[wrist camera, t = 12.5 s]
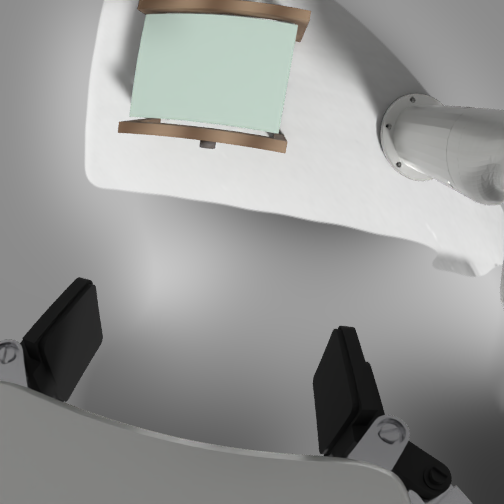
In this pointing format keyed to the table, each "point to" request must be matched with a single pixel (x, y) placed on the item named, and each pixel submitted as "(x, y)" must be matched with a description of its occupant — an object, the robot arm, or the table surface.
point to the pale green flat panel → (213, 70)
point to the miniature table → (217, 3)
